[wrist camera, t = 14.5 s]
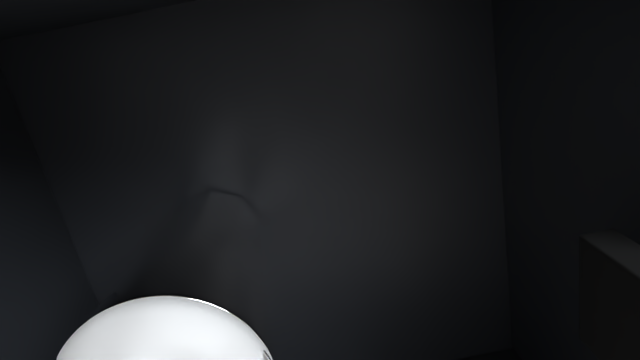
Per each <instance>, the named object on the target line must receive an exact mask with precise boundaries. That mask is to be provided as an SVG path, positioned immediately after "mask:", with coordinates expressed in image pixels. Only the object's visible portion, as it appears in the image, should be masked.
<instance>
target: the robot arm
mask: <svg viewBox="0 0 640 360" xmlns="http://www.w3.org/2000/svg"><path fill="white" fill-rule="evenodd" d="M579 339H580V340H581V341H582V342H583V343H584V344H585V345H586V346H587V347H588V348H589V349H590V350H591V351H592V352H593V353H594V354H595V355H596V356H597V358H598V359H599V360H640V245H639V244H637V243H636V242H634V241H633V240H631V239H629V238H628V237H626V236H625V235H623V234H621V233H620V232H618V231H616V230H615V229H613V228H612V229H607V230H602V231H598V232H593V233H588V234H583V235H579Z"/></svg>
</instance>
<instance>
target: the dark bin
mask: <svg viewBox="0 0 640 360" xmlns="http://www.w3.org/2000/svg"><path fill="white" fill-rule="evenodd" d="M213 190H214V191H219V192H223V193H228V194H233V195H238V196H241V197H242V198H243V199H244V200H245V201H246V202H247V203H248V204H249V205H250V206H251V207H252V208H253V209H254V210H255V211H256V212H257V213H258V214H259V215H260V220H261V229H262V238H263V249H264V265H265V281H266V296H267V301H268V306H269V312H270V319H271V327H272V335H273V343H274V351H275V359H276V360H599V359H598V358H597V356H596V355H595V354H594V353H593V352H592V351H591V350H590V349H589V348H588V347H587V346H586V345H585V344H584V343H583V342H582V341H581V340H580V339H579V235H583V234H588V233H593V232H598V231H602V230H607V229H612V228H613V229H615V230H616V231H618V232H620V233H621V234H623V235H625V236H626V237H628V238H629V239H631V240H633V241H634V242H636V243H637V244H639V245H640V0H0V360H56V359H57V356H58V354H59V352H60V350H61V349H62V347H63V346H64V344H65V343H66V342H67V340H68V339H69V338H70V337H71V336H72V334H73V333H74V332H75V331H76V330H77V329H78V328H80V327H81V325H82V324H83V323H84V322H85V321H86V320H87V319H88V317H89V316H90V315H91V314H92V313H93V312H94V311H95V310H96V308H97V307H98V306H99V305H100V304H101V303H102V302H103V301H104V299H105V298H106V297H107V296H108V295H109V294H110V293H111V292H112V290H113V289H114V288H115V287H116V286H117V285H118V284H119V283H120V281H121V280H122V279H123V278H124V277H125V276H126V275H127V274H128V272H129V271H130V270H131V269H132V268H133V267H134V266H135V264H136V263H137V262H138V261H139V260H140V259H141V257H142V256H143V255H144V254H145V252H146V251H147V250H148V249H149V247H150V246H151V245H152V244H153V242H154V241H155V240H156V239H157V237H158V236H159V235H160V234H161V232H162V231H163V230H164V229H165V227H166V226H167V225H168V224H169V222H170V221H171V220H172V219H173V217H174V216H175V215H176V214H177V212H178V211H179V210H180V209H181V207H182V206H183V205H184V204H185V202H186V201H188V200H190V199H193V198H195V197H198V196H200V195H203V194H205V193H208V192H210V191H213Z"/></svg>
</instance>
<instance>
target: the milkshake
mask: <svg viewBox="0 0 640 360" xmlns="http://www.w3.org/2000/svg"><path fill="white" fill-rule="evenodd" d="M56 360H276V359H275V351H274V343H273V335H272V327H271V319H270V312H269V306H268V301H267V296H266V281H265V265H264V249H263V238H262V229H261V220H260V215H259V214H258V213H257V212H256V211H255V210H254V209H253V208H252V207H251V206H250V205H249V204H248V203H247V202H246V201H245V200H244V199H243V198H242V197H241V196H238V195H233V194H228V193H223V192H219V191H214V190H213V191H210V192H208V193H205V194H203V195H200V196H198V197H195V198H193V199H190V200H188V201H186V202H185V204H184V205H183V206H182V207H181V209H180V210H179V211H178V212H177V214H176V215H175V216H174V217H173V219H172V220H171V221H170V222H169V224H168V225H167V226H166V227H165V229H164V230H163V231H162V232H161V234H160V235H159V236H158V237H157V239H156V240H155V241H154V242H153V244H152V245H151V246H150V247H149V249H148V250H147V251H146V252H145V254H144V255H143V256H142V257H141V259H140V260H139V261H138V262H137V263H136V264H135V266H134V267H133V268H132V269H131V270H130V271H129V272H128V274H127V275H126V276H125V277H124V278H123V279H122V280H121V281H120V283H119V284H118V285H117V286H116V287H115V288H114V289H113V290H112V292H111V293H110V294H109V295H108V296H107V297H106V298H105V299H104V301H103V302H102V303H101V304H100V305H99V306H98V307H97V308H96V310H95V311H94V312H93V313H92V314H91V315H90V316H89V317H88V319H87V320H86V321H85V322H84V323H83V324H82V325H81V327H80V328H78V329H77V330H76V331H75V332H74V333H73V334H72V336H71V337H70V338H69V339H68V340H67V342H66V343H65V344H64V346H63V347H62V349H61V350H60V352H59V354H58V356H57V359H56Z"/></svg>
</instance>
